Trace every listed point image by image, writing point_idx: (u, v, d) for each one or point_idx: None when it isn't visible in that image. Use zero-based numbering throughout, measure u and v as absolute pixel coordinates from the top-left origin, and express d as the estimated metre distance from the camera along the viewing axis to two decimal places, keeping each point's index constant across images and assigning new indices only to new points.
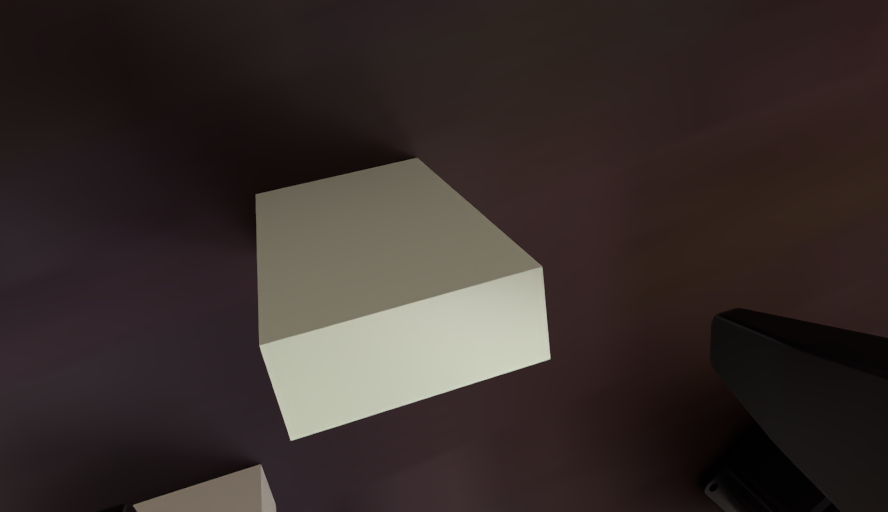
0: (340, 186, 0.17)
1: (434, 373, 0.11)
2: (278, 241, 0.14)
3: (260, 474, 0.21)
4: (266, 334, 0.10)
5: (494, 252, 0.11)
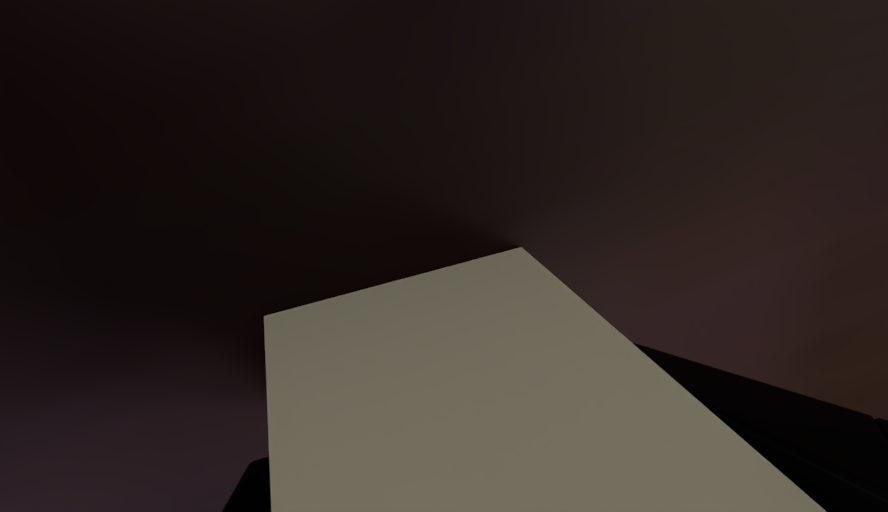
0: (407, 309, 0.10)
1: None
2: (314, 482, 0.07)
3: None
4: None
5: None
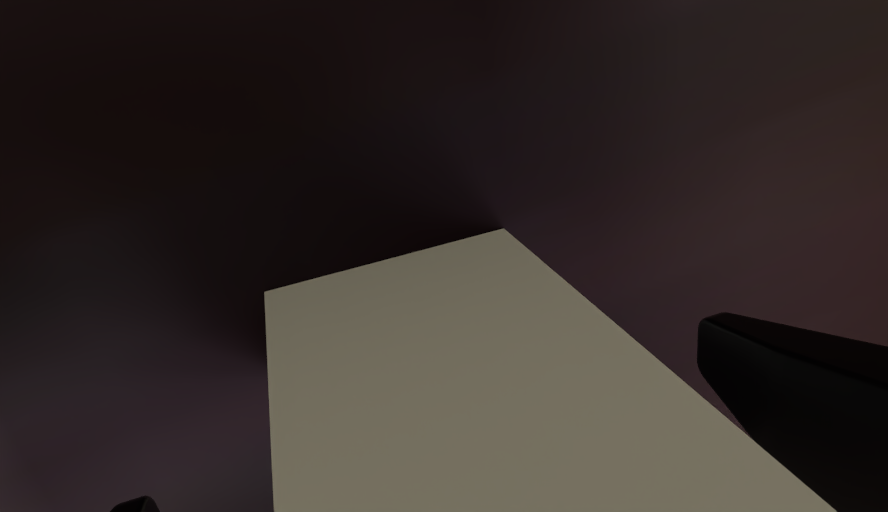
0: (395, 284, 0.11)
1: None
2: (309, 425, 0.08)
3: None
4: None
5: None
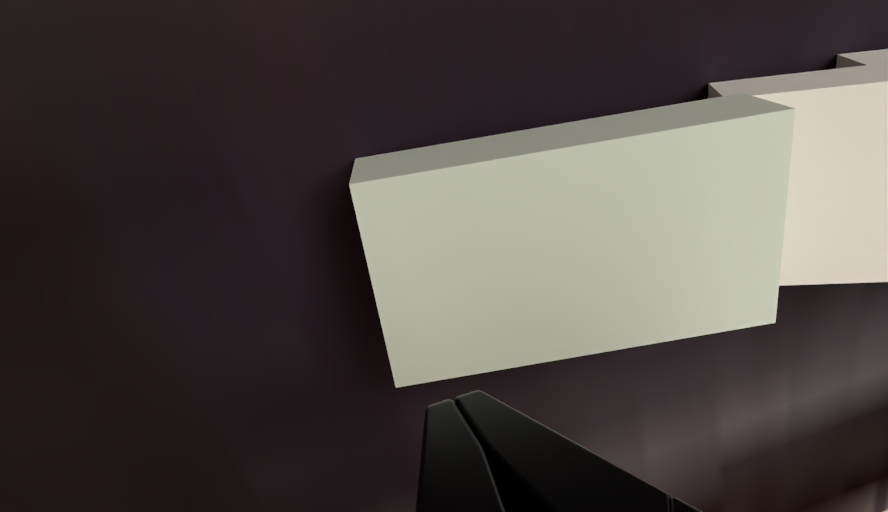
0: (430, 290, 0.13)
1: None
2: (583, 337, 0.14)
3: None
4: (763, 320, 0.14)
5: (741, 142, 0.12)
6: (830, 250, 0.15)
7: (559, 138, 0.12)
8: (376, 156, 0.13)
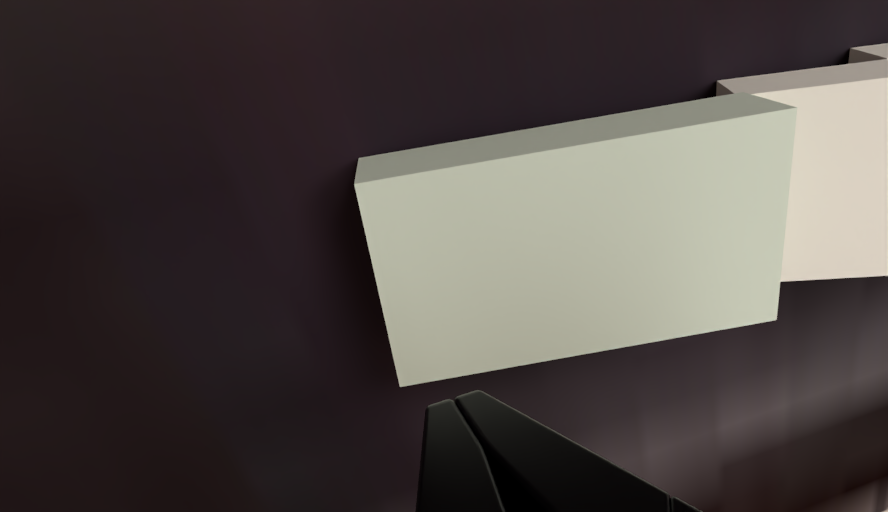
0: (434, 289, 0.13)
1: None
2: (586, 336, 0.14)
3: (761, 93, 0.14)
4: (764, 317, 0.14)
5: (744, 141, 0.12)
6: (841, 245, 0.15)
7: (563, 137, 0.12)
8: (379, 155, 0.13)
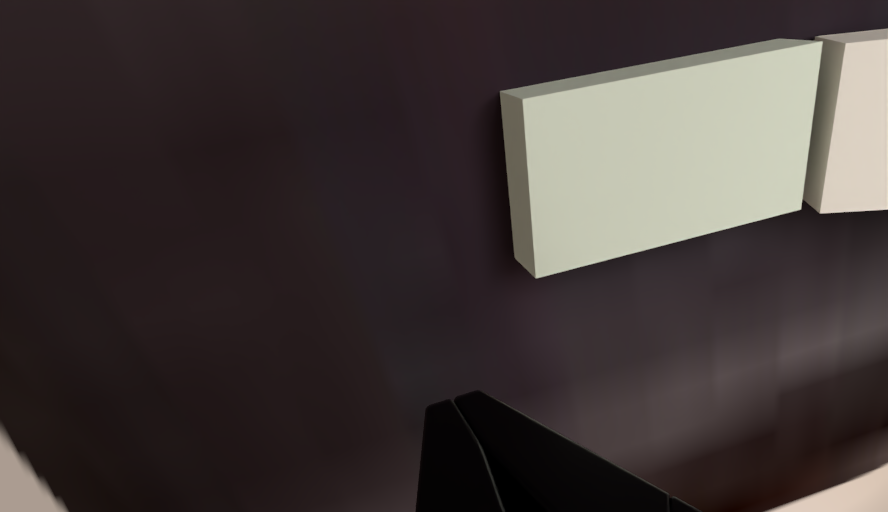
0: (571, 189, 0.16)
1: None
2: (674, 227, 0.17)
3: (867, 41, 0.16)
4: (793, 207, 0.18)
5: (789, 66, 0.16)
6: None
7: (661, 66, 0.16)
8: None
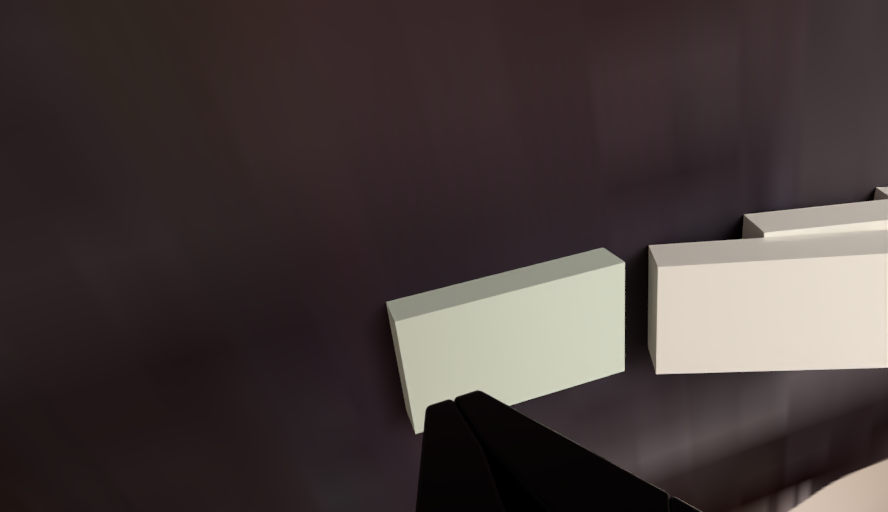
0: (437, 374, 0.22)
1: None
2: (522, 391, 0.23)
3: (672, 266, 0.22)
4: (618, 370, 0.24)
5: (600, 280, 0.22)
6: (723, 352, 0.24)
7: (505, 282, 0.22)
8: None
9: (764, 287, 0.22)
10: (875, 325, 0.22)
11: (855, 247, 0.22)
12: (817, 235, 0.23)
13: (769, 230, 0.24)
